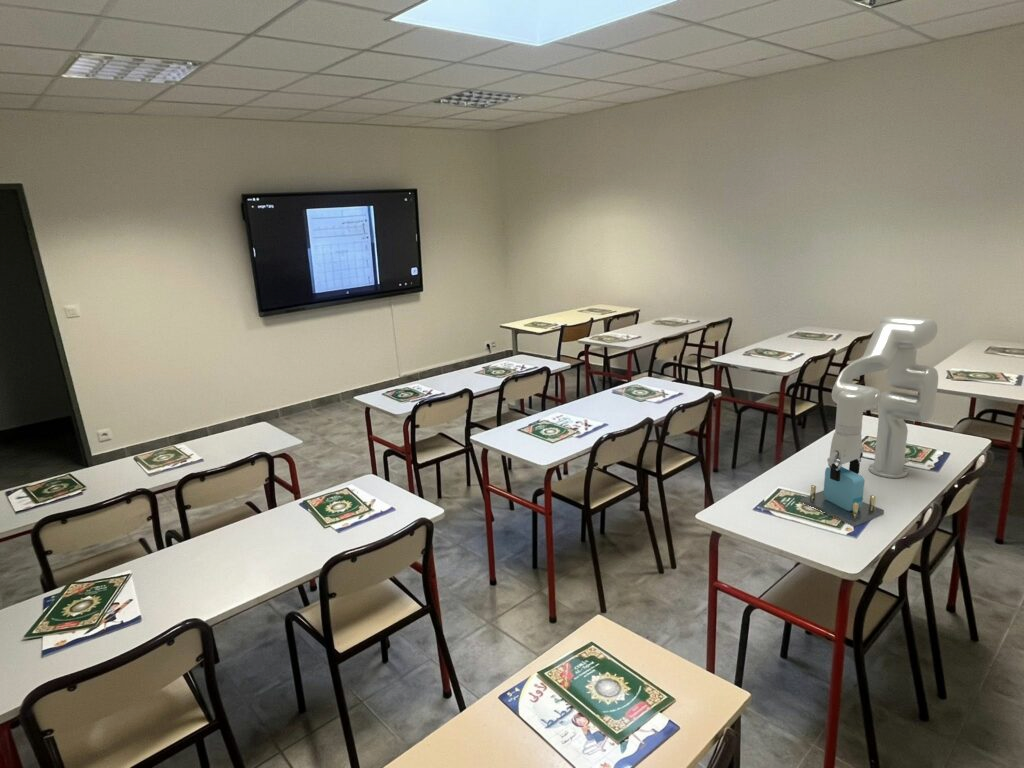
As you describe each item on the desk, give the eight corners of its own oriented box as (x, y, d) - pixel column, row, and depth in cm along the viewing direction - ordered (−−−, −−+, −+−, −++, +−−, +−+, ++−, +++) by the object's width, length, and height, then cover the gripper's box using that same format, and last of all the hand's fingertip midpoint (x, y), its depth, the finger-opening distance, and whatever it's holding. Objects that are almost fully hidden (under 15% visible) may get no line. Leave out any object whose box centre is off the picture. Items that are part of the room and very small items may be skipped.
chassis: (828, 492, 219) (830, 475, 217) (883, 514, 201) (885, 496, 200) (800, 503, 212) (801, 485, 210) (854, 526, 195) (856, 508, 193)
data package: (861, 510, 202) (865, 477, 198) (851, 513, 200) (854, 479, 197) (833, 495, 213) (835, 463, 209) (822, 498, 211) (825, 466, 208)
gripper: (854, 419, 206) (850, 465, 211) (820, 431, 199) (817, 479, 203) (876, 425, 199) (871, 473, 204) (841, 437, 192) (837, 487, 197)
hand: (844, 476), depth 204 cm, fingers open, 9 cm apart
